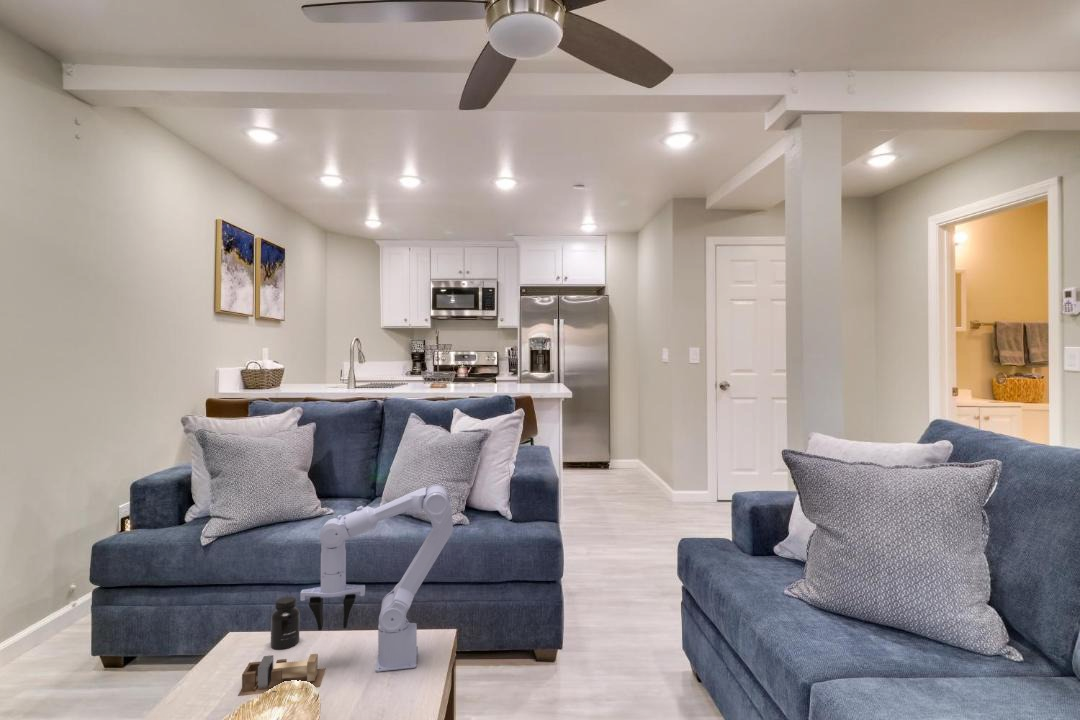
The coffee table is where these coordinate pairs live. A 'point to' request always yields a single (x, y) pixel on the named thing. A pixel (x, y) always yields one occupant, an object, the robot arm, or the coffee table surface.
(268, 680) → the collar
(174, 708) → the coffee table surface
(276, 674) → the jig
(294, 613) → the supplement bottle
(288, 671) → the shaft
